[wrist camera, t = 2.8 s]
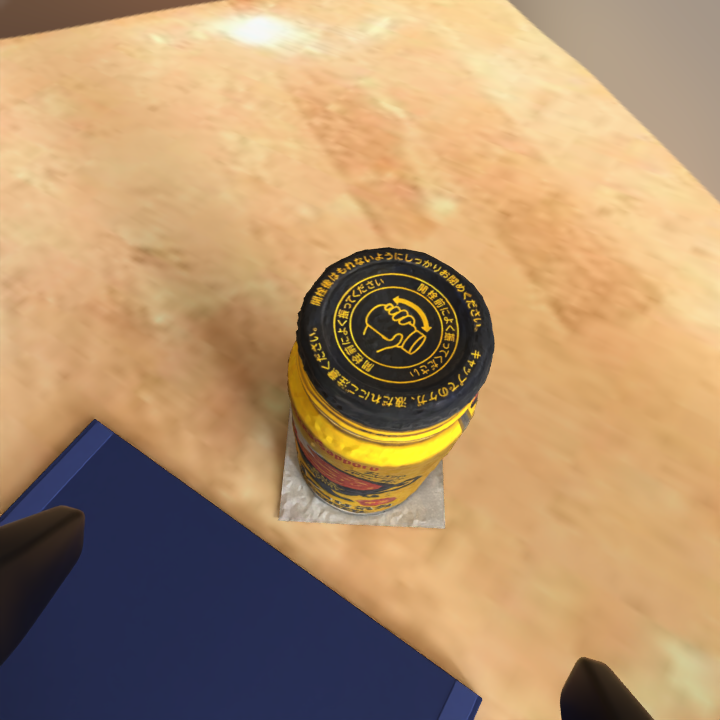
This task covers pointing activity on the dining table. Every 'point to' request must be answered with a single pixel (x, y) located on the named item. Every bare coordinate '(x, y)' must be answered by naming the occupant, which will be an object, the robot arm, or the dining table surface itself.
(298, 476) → the condiment
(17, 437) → the dining table surface
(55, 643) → the cloth
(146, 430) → the dining table surface
